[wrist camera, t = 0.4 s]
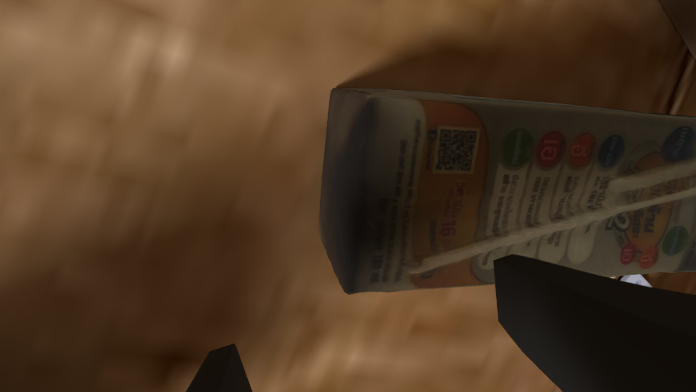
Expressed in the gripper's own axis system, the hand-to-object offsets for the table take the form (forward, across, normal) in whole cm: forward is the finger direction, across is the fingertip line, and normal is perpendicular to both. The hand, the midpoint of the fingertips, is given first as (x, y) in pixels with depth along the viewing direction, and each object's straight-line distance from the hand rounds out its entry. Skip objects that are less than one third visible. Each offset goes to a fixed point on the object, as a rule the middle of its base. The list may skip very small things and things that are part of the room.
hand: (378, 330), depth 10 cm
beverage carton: (+10, -10, 0) cm, 14 cm away
